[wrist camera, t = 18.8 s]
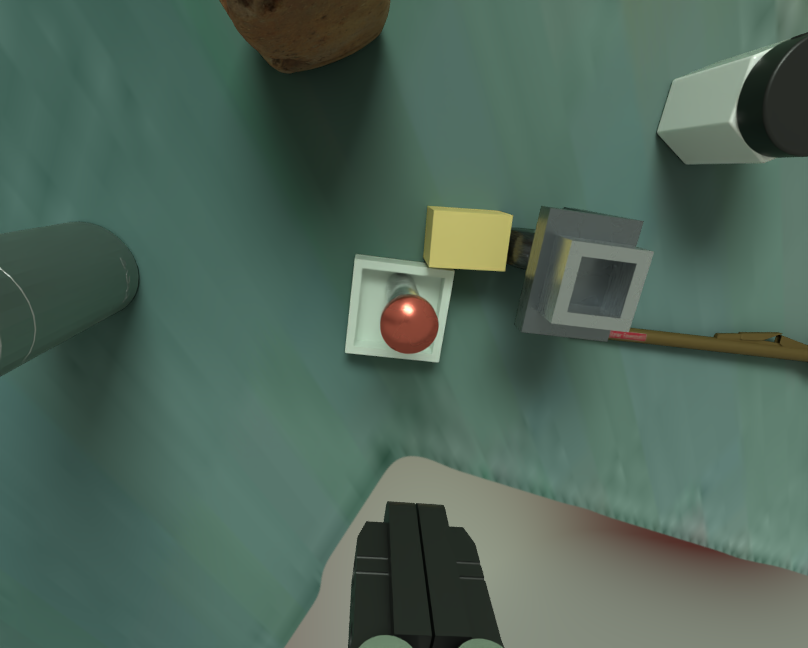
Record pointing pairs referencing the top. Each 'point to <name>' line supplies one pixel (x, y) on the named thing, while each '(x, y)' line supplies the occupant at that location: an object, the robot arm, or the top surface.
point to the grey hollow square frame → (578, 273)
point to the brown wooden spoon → (721, 342)
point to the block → (307, 29)
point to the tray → (373, 299)
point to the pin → (407, 316)
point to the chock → (467, 238)
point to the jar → (741, 107)
